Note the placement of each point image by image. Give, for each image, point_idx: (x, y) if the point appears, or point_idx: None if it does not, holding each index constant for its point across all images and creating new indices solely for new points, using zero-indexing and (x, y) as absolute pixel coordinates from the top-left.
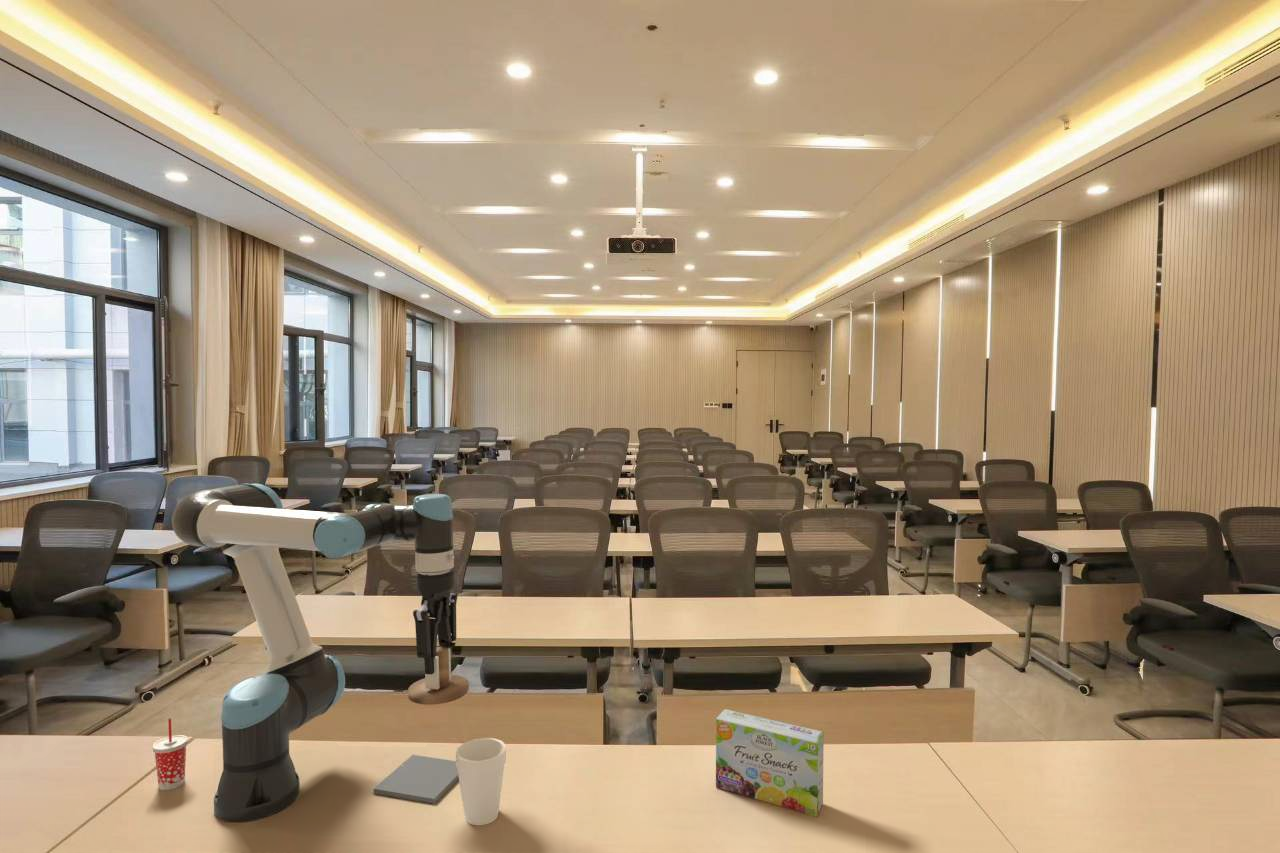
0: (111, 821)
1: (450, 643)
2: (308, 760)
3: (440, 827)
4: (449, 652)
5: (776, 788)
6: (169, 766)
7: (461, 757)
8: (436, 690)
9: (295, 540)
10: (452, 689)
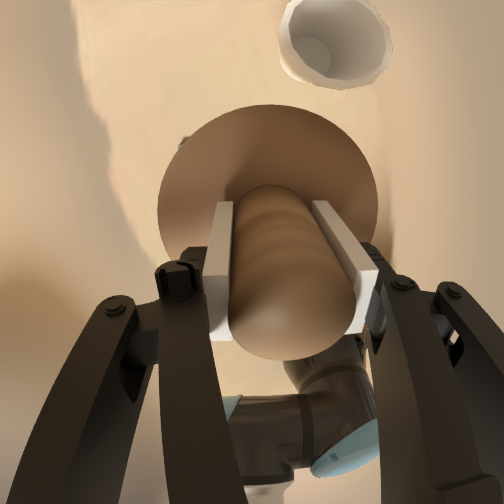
0: None
1: (188, 296)
2: (237, 358)
3: (347, 106)
4: (217, 261)
5: None
6: None
7: (380, 66)
8: (310, 209)
9: None
10: (292, 152)
